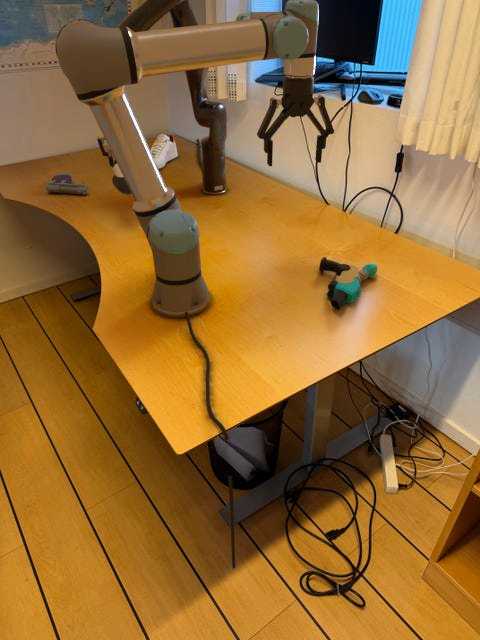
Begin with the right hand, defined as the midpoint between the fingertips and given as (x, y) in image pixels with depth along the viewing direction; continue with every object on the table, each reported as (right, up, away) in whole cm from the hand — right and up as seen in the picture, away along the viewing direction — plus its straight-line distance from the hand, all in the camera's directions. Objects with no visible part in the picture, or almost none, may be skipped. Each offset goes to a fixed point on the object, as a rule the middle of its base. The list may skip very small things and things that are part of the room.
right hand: (121, 166), depth 169 cm
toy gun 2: (+69, -46, -39) cm, 92 cm away
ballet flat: (+2, -8, -4) cm, 9 cm away
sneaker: (+5, +17, +49) cm, 52 cm away
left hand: (+57, -12, -40) cm, 71 cm away
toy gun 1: (-26, -2, +24) cm, 36 cm away
